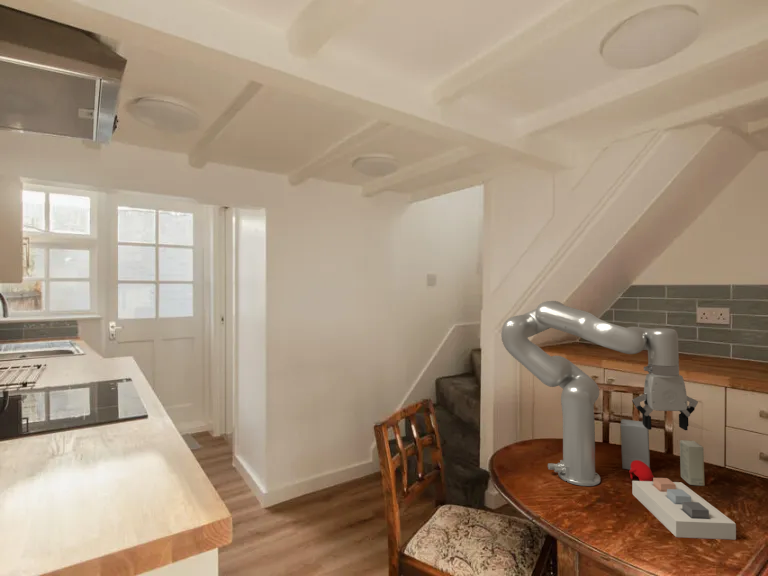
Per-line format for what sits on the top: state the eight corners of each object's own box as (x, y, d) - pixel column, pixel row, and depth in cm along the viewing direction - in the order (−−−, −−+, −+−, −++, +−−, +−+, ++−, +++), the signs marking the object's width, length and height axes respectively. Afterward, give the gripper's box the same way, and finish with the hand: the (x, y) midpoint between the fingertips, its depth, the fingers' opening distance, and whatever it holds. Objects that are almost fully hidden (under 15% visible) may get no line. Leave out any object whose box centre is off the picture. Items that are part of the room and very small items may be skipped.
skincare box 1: (649, 467, 146) (649, 421, 146) (649, 474, 140) (649, 427, 140) (621, 461, 151) (621, 417, 151) (620, 469, 145) (620, 423, 145)
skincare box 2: (705, 486, 132) (704, 447, 132) (689, 485, 133) (688, 446, 133) (694, 477, 138) (694, 440, 138) (679, 476, 139) (679, 439, 139)
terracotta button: (660, 494, 121) (660, 484, 121) (653, 487, 125) (653, 477, 125) (675, 494, 121) (675, 484, 121) (667, 488, 125) (667, 478, 125)
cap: (622, 465, 141) (627, 462, 136) (639, 459, 141) (645, 456, 136) (636, 490, 136) (642, 488, 131) (654, 484, 136) (660, 482, 131)
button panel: (676, 537, 106) (676, 521, 106) (632, 493, 128) (632, 480, 128) (735, 539, 105) (735, 523, 105) (681, 495, 126) (681, 482, 126)
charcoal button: (692, 521, 107) (692, 509, 107) (682, 513, 111) (682, 501, 111) (708, 522, 107) (708, 510, 107) (698, 513, 111) (698, 502, 111)
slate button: (675, 507, 114) (675, 496, 114) (667, 499, 118) (666, 489, 118) (691, 507, 114) (691, 496, 114) (682, 500, 118) (682, 489, 118)
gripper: (637, 372, 122) (639, 432, 122) (703, 372, 120) (705, 433, 120) (626, 368, 130) (628, 424, 129) (688, 368, 127) (690, 425, 127)
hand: (665, 428), depth 124 cm, fingers open, 9 cm apart
